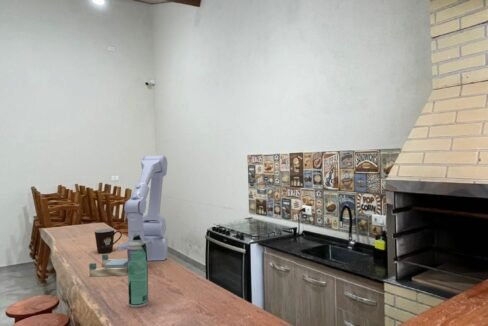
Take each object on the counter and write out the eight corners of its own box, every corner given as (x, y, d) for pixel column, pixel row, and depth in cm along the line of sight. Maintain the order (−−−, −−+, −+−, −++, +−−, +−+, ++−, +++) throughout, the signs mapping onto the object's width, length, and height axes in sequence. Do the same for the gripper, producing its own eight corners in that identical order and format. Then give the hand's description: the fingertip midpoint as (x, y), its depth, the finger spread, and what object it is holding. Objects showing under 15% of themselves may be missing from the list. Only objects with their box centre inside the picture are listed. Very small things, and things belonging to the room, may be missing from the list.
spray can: (150, 299, 105) (148, 232, 105) (146, 307, 100) (144, 236, 100) (131, 300, 105) (130, 233, 105) (126, 308, 100) (124, 237, 100)
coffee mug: (93, 255, 158) (93, 233, 158) (96, 250, 167) (95, 229, 166) (121, 252, 161) (120, 230, 161) (122, 248, 170) (121, 227, 170)
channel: (136, 264, 142) (135, 253, 142) (125, 275, 129) (125, 263, 129) (103, 265, 142) (103, 254, 142) (89, 276, 128) (89, 264, 128)
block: (130, 268, 139) (130, 259, 138) (123, 273, 132) (123, 264, 132) (112, 268, 139) (112, 259, 139) (105, 274, 132) (104, 264, 132)
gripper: (145, 226, 143) (146, 259, 143) (112, 232, 132) (113, 268, 132) (156, 228, 139) (157, 262, 139) (123, 234, 128) (124, 272, 128)
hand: (137, 265), depth 135 cm, fingers closed
